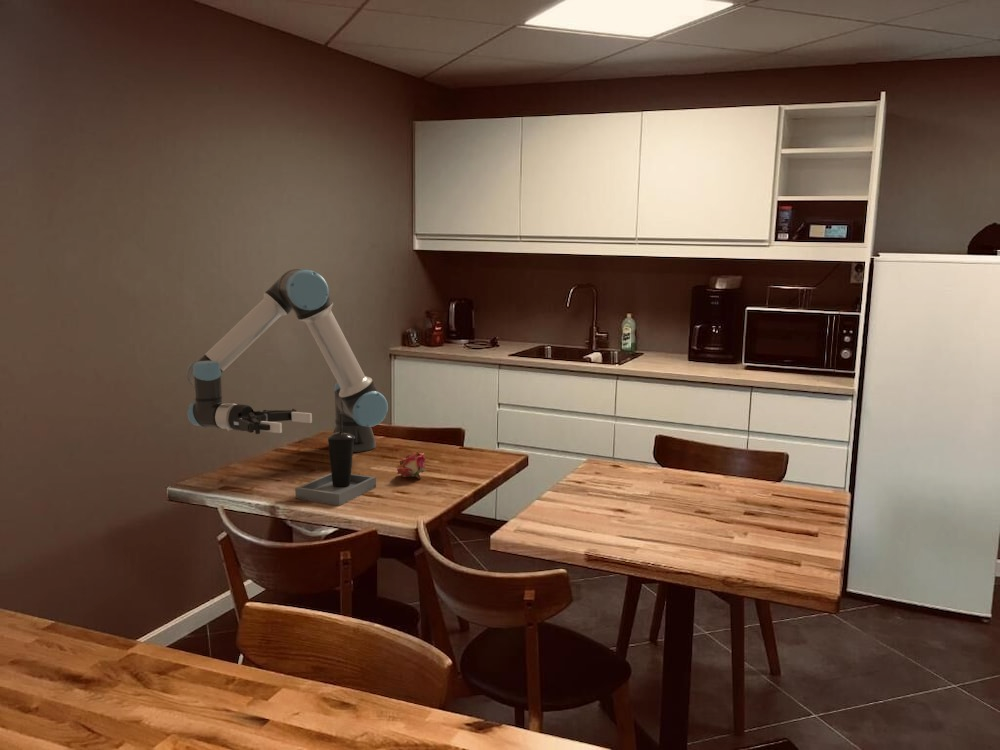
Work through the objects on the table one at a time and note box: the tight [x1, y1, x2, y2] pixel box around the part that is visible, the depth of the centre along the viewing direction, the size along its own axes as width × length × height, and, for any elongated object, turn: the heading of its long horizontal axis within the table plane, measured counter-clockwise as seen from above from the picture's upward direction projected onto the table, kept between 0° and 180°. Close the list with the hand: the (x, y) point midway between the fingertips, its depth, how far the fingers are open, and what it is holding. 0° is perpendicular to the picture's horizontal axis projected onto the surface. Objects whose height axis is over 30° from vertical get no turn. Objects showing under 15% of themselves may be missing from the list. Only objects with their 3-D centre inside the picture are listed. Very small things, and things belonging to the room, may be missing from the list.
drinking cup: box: [326, 414, 355, 486], centre depth 222 cm, size 8×8×20 cm
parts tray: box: [294, 472, 377, 506], centre depth 219 cm, size 18×14×3 cm
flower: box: [396, 451, 427, 480], centre depth 234 cm, size 10×9×8 cm
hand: (296, 422), depth 222 cm, fingers open, 13 cm apart
